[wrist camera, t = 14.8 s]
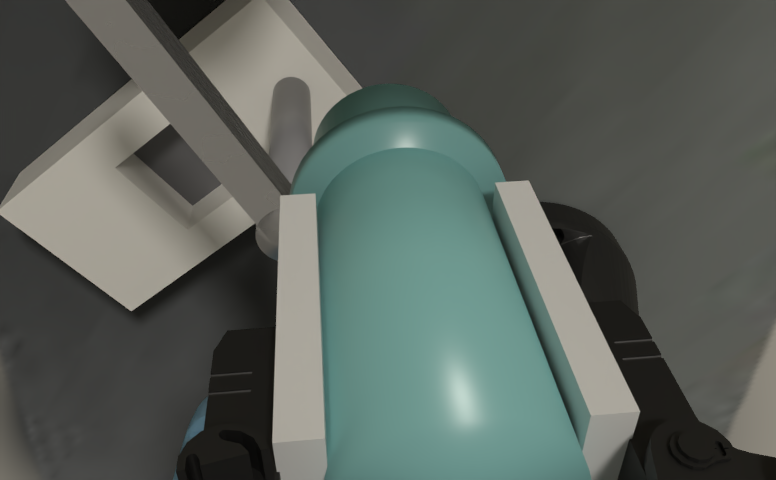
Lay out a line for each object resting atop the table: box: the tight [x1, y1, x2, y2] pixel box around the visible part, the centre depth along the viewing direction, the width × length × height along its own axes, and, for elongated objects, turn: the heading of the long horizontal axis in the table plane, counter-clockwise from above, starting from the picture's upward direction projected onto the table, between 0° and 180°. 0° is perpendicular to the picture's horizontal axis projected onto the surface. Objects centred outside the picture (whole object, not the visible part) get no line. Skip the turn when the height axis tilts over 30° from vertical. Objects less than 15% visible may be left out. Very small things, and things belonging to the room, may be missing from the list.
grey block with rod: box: [0, 0, 363, 311], centre depth 35 cm, size 9×18×14 cm, turn 126°
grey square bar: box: [65, 0, 291, 261], centre depth 23 cm, size 2×13×2 cm, turn 30°
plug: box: [290, 84, 592, 480], centre depth 15 cm, size 5×5×11 cm
